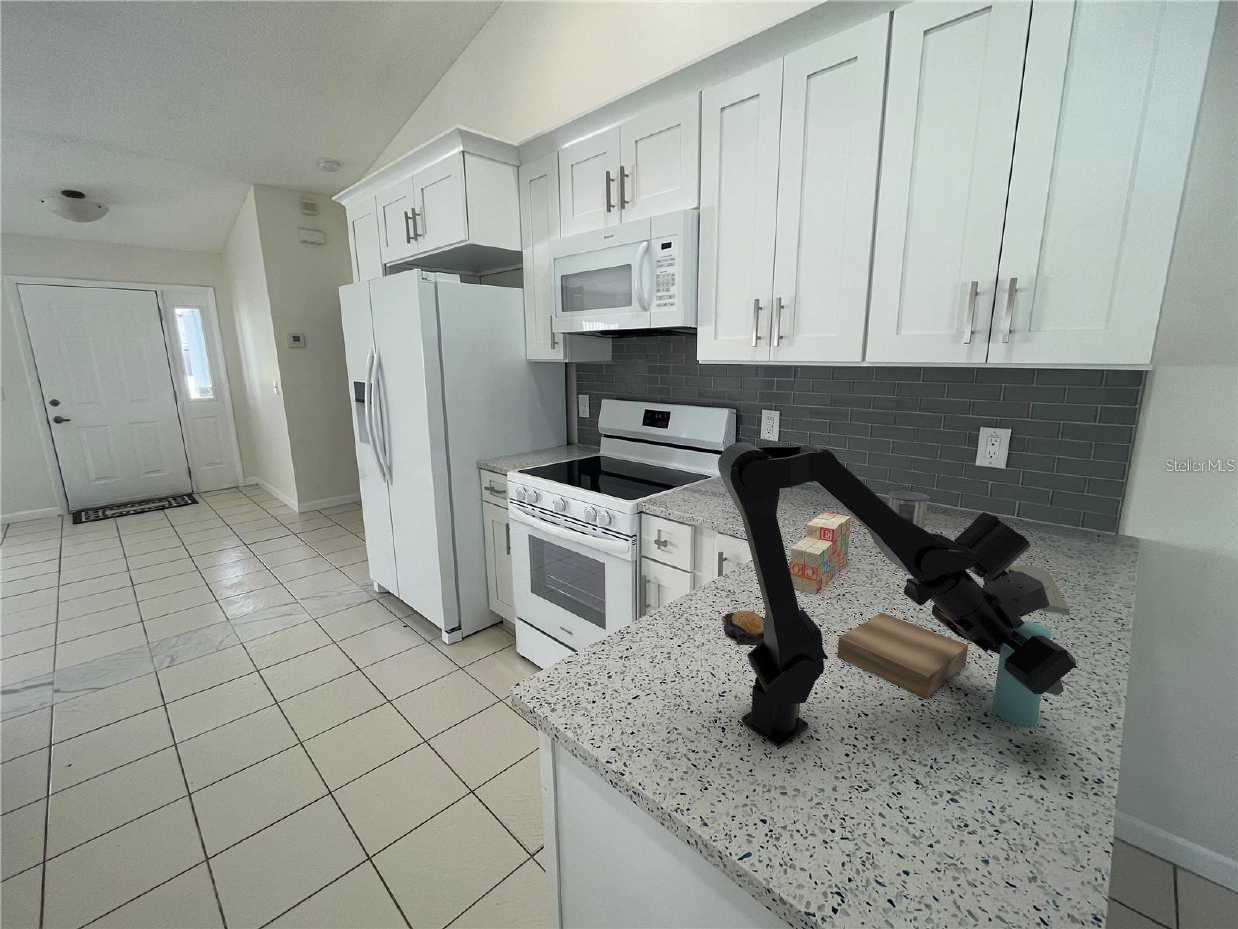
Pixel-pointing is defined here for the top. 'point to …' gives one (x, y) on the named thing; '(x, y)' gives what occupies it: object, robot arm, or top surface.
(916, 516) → the milk frother
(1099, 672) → the top surface
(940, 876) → the top surface
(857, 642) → the walnut plinth
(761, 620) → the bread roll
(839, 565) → the stack of blocks
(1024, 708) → the teal post
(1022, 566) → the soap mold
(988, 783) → the top surface
